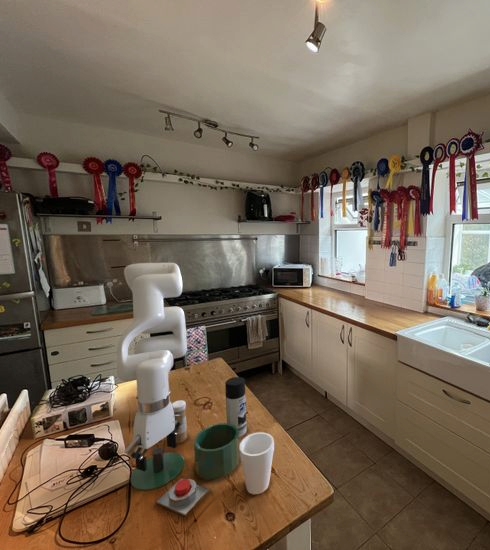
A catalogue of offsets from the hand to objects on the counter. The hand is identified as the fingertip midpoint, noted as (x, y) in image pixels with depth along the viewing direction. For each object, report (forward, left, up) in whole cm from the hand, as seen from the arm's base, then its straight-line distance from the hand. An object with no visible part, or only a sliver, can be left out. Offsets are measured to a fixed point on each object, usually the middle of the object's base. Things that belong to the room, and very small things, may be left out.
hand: (157, 457), depth 85 cm
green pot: (+14, +9, -5) cm, 17 cm away
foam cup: (+30, +7, -6) cm, 31 cm away
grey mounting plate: (+14, -4, -5) cm, 15 cm away
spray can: (+10, +23, -6) cm, 26 cm away
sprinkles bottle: (-6, +13, -6) cm, 16 cm away
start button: (+14, -4, -3) cm, 14 cm away
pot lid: (0, 0, -5) cm, 5 cm away
